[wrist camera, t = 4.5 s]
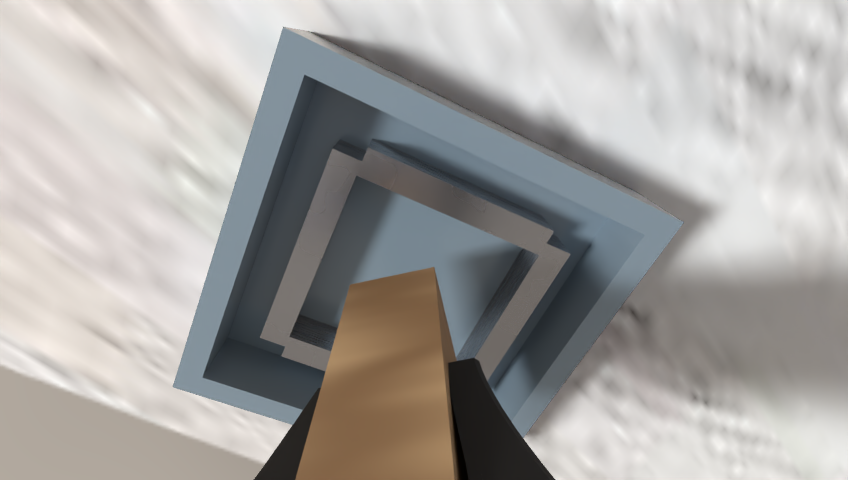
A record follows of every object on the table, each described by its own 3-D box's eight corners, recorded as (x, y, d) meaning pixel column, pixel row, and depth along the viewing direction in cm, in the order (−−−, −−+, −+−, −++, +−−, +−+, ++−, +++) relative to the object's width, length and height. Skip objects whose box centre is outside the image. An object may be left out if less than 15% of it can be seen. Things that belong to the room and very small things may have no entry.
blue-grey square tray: (638, 193, 15) (684, 222, 13) (477, 428, 19) (487, 486, 17) (309, 31, 13) (283, 26, 10) (208, 336, 17) (172, 386, 15)
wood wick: (434, 266, 12) (457, 510, 6) (461, 379, 14) (504, 673, 7) (349, 284, 12) (277, 541, 6) (386, 394, 14) (361, 694, 7)
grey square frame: (564, 225, 15) (578, 242, 14) (459, 391, 18) (462, 418, 17) (345, 125, 14) (338, 133, 12) (268, 324, 16) (255, 347, 15)
